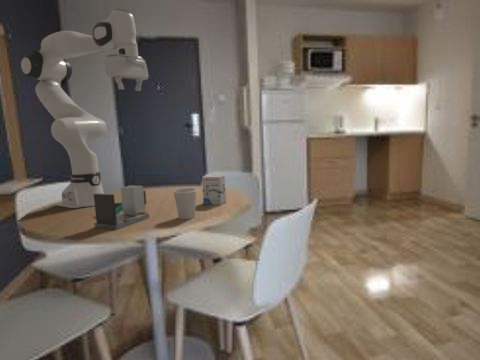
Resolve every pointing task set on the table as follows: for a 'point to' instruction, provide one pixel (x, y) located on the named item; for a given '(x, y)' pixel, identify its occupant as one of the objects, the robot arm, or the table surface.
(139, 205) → the tall grey rectangular prism
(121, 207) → the digital multimeter
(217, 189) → the ink box
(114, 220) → the gauge bed
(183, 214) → the dixie cup
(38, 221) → the table surface
